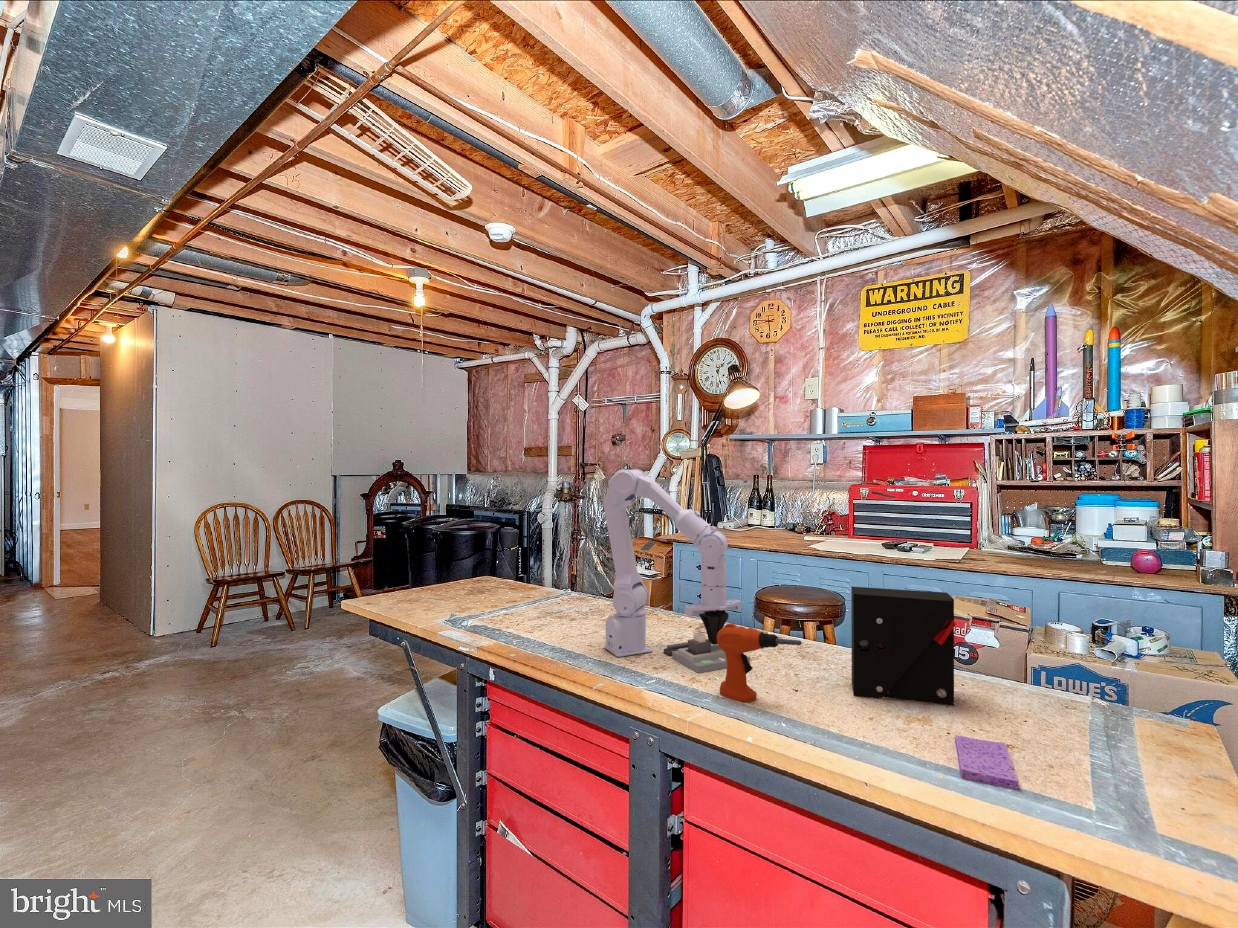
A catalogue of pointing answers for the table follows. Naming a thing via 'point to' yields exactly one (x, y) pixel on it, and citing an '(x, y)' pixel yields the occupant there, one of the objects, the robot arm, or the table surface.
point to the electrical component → (903, 645)
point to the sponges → (985, 762)
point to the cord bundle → (675, 647)
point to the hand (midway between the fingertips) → (713, 643)
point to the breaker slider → (699, 644)
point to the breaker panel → (703, 659)
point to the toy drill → (743, 657)
